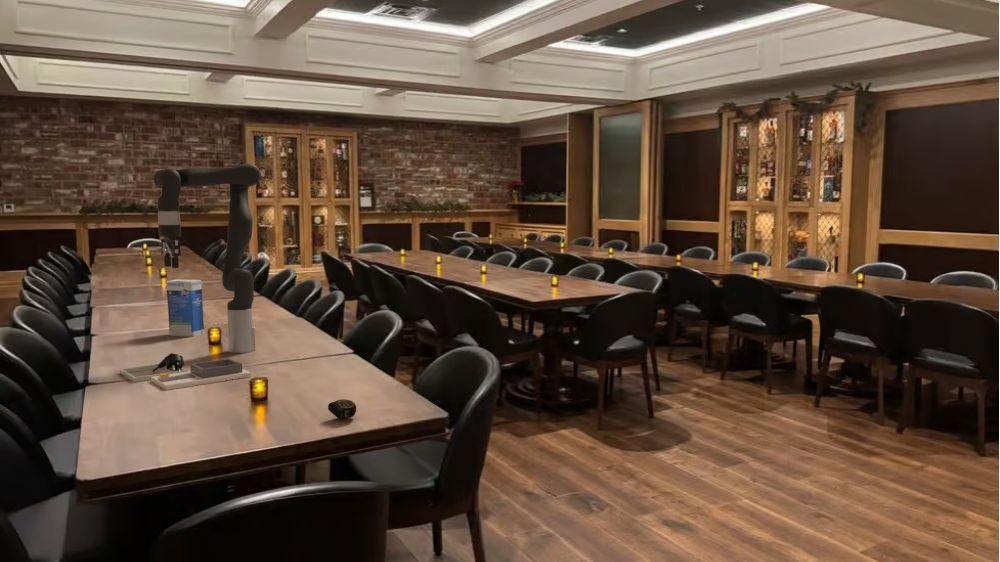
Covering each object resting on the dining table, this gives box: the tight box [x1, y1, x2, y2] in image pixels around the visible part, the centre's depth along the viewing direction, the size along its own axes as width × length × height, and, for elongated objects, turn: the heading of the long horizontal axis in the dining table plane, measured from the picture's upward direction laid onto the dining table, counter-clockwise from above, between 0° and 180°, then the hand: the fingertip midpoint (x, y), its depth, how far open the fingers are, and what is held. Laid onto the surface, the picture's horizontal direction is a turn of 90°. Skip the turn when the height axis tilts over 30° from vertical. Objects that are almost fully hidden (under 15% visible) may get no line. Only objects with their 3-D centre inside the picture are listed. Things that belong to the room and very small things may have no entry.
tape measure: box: [327, 398, 357, 420], centre depth 204 cm, size 7×7×4 cm
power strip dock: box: [150, 358, 252, 391], centre depth 250 cm, size 28×16×4 cm, turn 131°
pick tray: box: [119, 363, 189, 383], centre depth 258 cm, size 18×18×2 cm
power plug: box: [152, 352, 185, 372], centre depth 258 cm, size 6×8×12 cm
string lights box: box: [166, 279, 205, 338], centre depth 328 cm, size 13×8×26 cm, turn 74°
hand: (171, 267), depth 273 cm, fingers open, 8 cm apart
